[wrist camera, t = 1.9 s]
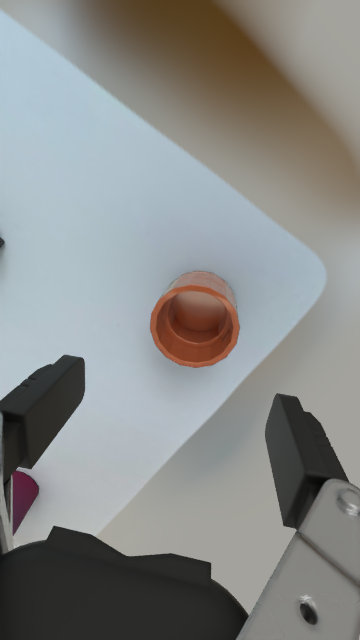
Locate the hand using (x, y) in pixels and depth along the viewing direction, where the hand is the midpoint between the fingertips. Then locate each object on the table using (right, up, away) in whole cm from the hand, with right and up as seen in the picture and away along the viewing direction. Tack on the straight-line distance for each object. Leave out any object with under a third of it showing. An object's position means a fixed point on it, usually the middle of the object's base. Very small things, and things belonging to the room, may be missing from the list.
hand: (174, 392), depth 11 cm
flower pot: (+2, +4, +11) cm, 12 cm away
